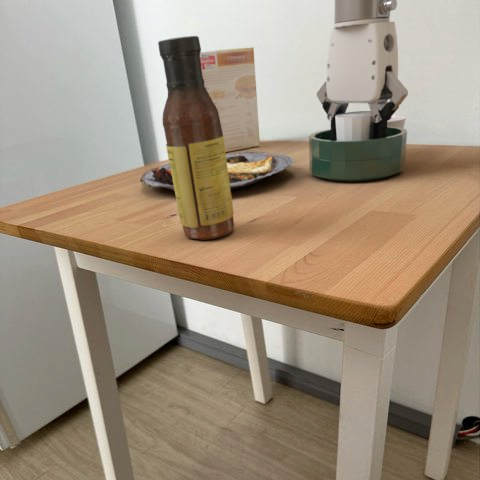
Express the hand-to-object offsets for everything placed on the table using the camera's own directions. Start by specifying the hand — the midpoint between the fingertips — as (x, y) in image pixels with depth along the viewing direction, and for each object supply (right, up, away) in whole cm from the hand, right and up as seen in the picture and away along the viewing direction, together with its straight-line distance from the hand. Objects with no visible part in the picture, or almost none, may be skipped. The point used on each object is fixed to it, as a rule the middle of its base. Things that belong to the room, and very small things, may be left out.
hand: (357, 146), depth 74 cm
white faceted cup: (0, -2, +1) cm, 2 cm away
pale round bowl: (+7, +2, +12) cm, 14 cm away
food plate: (-22, -4, +5) cm, 23 cm away
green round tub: (0, -3, +2) cm, 4 cm away
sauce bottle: (-22, -17, -18) cm, 34 cm away
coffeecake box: (-22, +11, +31) cm, 40 cm away
